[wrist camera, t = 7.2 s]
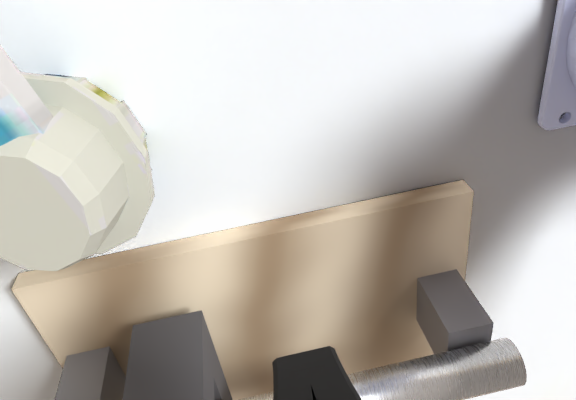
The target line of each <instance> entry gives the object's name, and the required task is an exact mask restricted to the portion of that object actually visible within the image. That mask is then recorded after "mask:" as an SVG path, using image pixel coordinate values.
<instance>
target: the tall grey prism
mask: <svg viewBox="0 0 576 400" xmlns="http://www.w3.org/2000/svg"><path fill="white" fill-rule="evenodd" d="M123 400H233V399H232V396H231V393H230V391H229V388H228V385H227V382H226V379H225V376H224V373H223V370H222V367H221V365H220V362H219V359H218V356H217V353H216V350H215V347H214V344H213V341H212V338H211V336H210V333H209V330H208V327H207V324H206V321H205V318H204V315H203V312H202V310H200V311H196V312H191V313H187V314H182V315H177V316H173V317H168V318H164V319H159V320H155V321H150V322H146V323H141V324H137V325H133V328H132V335H131V342H130V350H129V357H128V364H127V372H126V379H125V386H124V394H123Z"/></svg>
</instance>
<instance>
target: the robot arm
mask: <svg viewBox="0 0 576 400" xmlns="http://www.w3.org/2000/svg"><path fill="white" fill-rule="evenodd" d="M563 113H565V114H564V116H563V117H562V118H561V119H559V118H560V116H561V115H562V114H563ZM538 124H539V126H540V127H542V128H543V129H545V130H555V129H560V128H564V127H569V126H574V125H576V0H558V4H557V9H556V15H555V21H554V27H553V33H552V38H551V44H550V50H549V56H548V62H547V67H546V73H545V79H544V85H543V91H542V96H541V102H540V108H539V114H538ZM272 366H273V400H362V399H361V398H360V396H359V394H358V393H357V391H356V389H355V388H354V386H353V384H352V383H351V381H350V379H349V377H348V375H347V374H346V372H345V370H344V368H343V366H342V364H341V362H340V360H339V358H338V355H337V353H336V351H335V348H333V347H331V346H327V347H322V348H318V349H314V350H309V351H305V352H301V353H296V354H292V355H287V356H283V357H279V358H276V359H275V360H274V361H273V362H272Z"/></svg>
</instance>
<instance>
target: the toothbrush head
mask: <svg viewBox="0 0 576 400" xmlns="http://www.w3.org/2000/svg"><path fill="white" fill-rule="evenodd" d="M146 135H147V134H146V132H145V131H144V130H143V128H142V127H141V125H140V124H139V122H138V121H137V119H136V118H135V116H134V115H133V113H132V112H131V110H130V109H129V107H128V106H127V105H126V103H125V102H124V100H123V101H121V102H120V101H118V100H117V99H115V98H114V97H112V96H110V95H109V94H107V93H106V92H104V91H103V90H101V89H100V88H98V87H97V86H95V85H93V84H92V83H90V82H89V81H87V80H86V78H82V77H72V76H61V75H51V74H45V75H42V74H34V73H25V72H20V71H19V69H18V68H17V67H16V65H15V64H14V63H13V61H12V60H11V59H10V57H9V56H8V55H7V53H6V52H5V50H4V49H3V48H2V46H1V45H0V258H2V259H4V260H6V261H8V262H10V263H12V264H14V265H16V266H18V267H21V268H23V269H26V270H43V271H59V270H62V269H65V268H68V267H70V266H72V265H74V264H76V263H78V262H80V261H82V260H84V259H86V258H88V257H90V256H92V255H94V254H103V253H105V252H107V251H109V250H111V249H113V248H115V247H117V246H119V245H121V244H123V243H124V242H126V241H128V240H130V239H132V238H134V237H136V235H137V233H138V231H139V229H140V227H141V225H142V223H143V220H144V218H145V216H146V214H147V212H148V210H149V208H150V206H151V203H152V201H153V198H154V195H155V193H154V187H153V180H152V174H151V170H152V169H151V167H150V161H149V154H148V150H147V145H146V138H145V137H146Z"/></svg>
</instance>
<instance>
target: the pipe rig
mask: <svg viewBox="0 0 576 400" xmlns="http://www.w3.org/2000/svg"><path fill="white" fill-rule="evenodd" d="M473 195H474V191H473V190H472V189H471V188H470V187H469V185H468V184H467V183H466V182H465V181H464V180H459V181H455V182H450V183H445V184H440V185H436V186H431V187H426V188H421V189H417V190H412V191H407V192H402V193H398V194H393V195H388V196H383V197H379V198H374V199H369V200H364V201H360V202H355V203H350V204H345V205H341V206H336V207H331V208H326V209H322V210H317V211H312V212H307V213H303V214H298V215H293V216H288V217H284V218H279V219H274V220H269V221H265V222H260V223H255V224H250V225H246V226H241V227H236V228H231V229H227V230H222V231H217V232H212V233H208V234H203V235H198V236H193V237H189V238H184V239H179V240H174V241H170V242H165V243H160V244H156V245H151V246H146V247H141V248H137V249H132V250H127V251H122V252H118V253H113V254H108V255H103V256H99V257H94V258H89V259H84V260H82V261H80V262H78V263H76V264H74V265H72V266H70V267H68V268H65V269H62V270H59V271H43V270H32V271H27V272H23V273H19V274H18V276H17V278H16V280H15V282H14V285H13V287H12V289H11V290H12V291H13V293H14V294H15V296H16V298H17V299H18V301H19V302H20V304H21V305H22V307H23V308H24V310H25V311H26V313H27V315H28V316H29V318H30V319H31V321H32V322H33V324H34V325H35V327H36V328H37V330H38V331H39V333H40V335H41V336H42V338H43V339H44V341H45V342H46V344H47V345H48V347H49V348H50V350H51V352H52V353H53V355H54V356H55V358H56V359H57V361H58V362H59V364H60V365H61V367H62V368H63V371H62V375H61V379H60V382H59V386H58V390H57V394H56V397H55V400H123V394H124V386H125V379H126V372H127V364H128V357H129V350H130V342H131V335H132V328H133V325H137V324H141V323H146V322H150V321H155V320H159V319H164V318H168V317H173V316H177V315H182V314H187V313H191V312H196V311H200V310H202V312H203V315H204V318H205V321H206V324H207V327H208V330H209V333H210V336H211V338H212V341H213V344H214V347H215V350H216V353H217V356H218V359H219V362H220V365H221V367H222V370H223V373H224V376H225V379H226V382H227V385H228V388H229V391H230V393H231V396H232V399H233V400H273V366H272V362H273V361H274V360H275V359H276V358H279V357H283V356H287V355H292V354H296V353H301V352H305V351H309V350H314V349H318V348H322V347H327V346H331V347H333V348H335V351H336V353H337V355H338V358H339V360H340V362H341V364H342V366H343V368H344V370H345V372H346V374H347V375H348V377H349V379H350V381H351V383H352V384H353V386H354V388H355V389H356V391H357V393H358V394H359V396H360V398H361V399H362V400H465V399H469V398H473V397H477V396H482V395H486V394H490V393H494V392H498V391H503V390H507V389H511V388H515V387H519V386H523V385H525V383H526V369H525V365H524V362H523V359H522V357H521V355H520V353H519V351H518V349H517V347H516V346H515V345H514V343H513V342H512V341H511V340H509V339H508V338H502V339H498V340H493V341H491V335H492V329H493V322H492V320H491V319H490V317H489V316H488V314H487V313H486V312H485V310H484V309H483V307H482V306H481V304H480V303H479V301H478V300H477V298H476V297H475V295H474V294H473V293H472V291H471V290H470V288H469V287H468V285H467V284H466V282H465V275H466V265H467V255H468V245H469V235H470V225H471V215H472V205H473Z"/></svg>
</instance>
